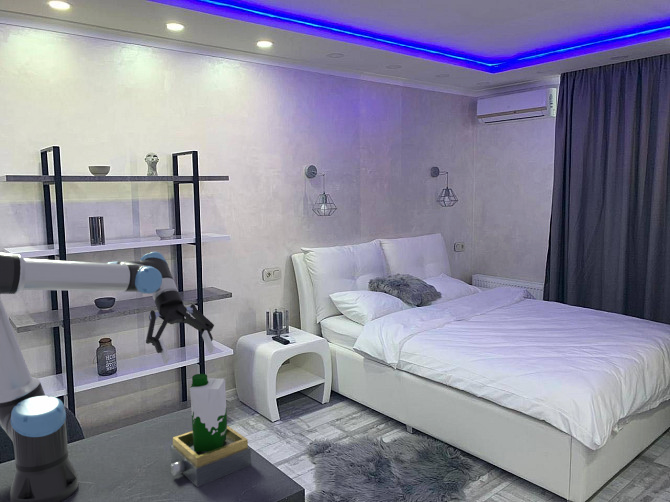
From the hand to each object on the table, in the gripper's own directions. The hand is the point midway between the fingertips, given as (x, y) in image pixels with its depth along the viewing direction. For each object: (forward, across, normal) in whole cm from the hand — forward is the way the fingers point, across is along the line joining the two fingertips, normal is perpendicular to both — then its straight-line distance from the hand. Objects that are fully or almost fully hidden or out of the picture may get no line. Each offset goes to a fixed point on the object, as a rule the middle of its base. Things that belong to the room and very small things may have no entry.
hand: (190, 356), depth 149 cm
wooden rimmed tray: (+27, +1, -13) cm, 30 cm away
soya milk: (+23, 0, -10) cm, 25 cm away
